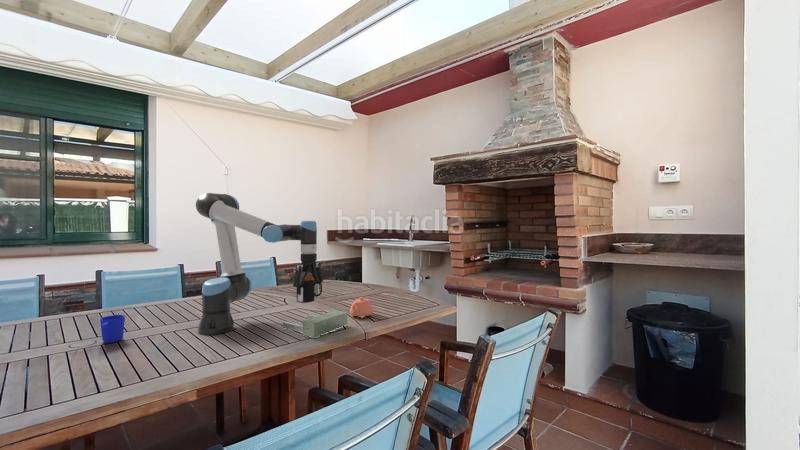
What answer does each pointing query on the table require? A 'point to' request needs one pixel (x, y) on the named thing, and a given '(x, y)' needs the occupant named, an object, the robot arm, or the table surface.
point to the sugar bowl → (361, 307)
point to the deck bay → (319, 323)
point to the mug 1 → (112, 328)
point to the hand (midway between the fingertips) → (308, 299)
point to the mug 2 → (309, 290)
